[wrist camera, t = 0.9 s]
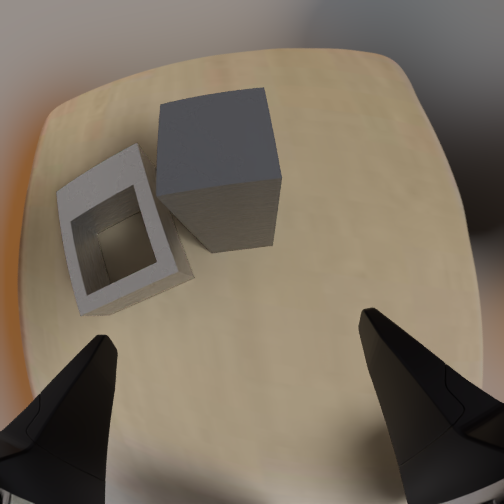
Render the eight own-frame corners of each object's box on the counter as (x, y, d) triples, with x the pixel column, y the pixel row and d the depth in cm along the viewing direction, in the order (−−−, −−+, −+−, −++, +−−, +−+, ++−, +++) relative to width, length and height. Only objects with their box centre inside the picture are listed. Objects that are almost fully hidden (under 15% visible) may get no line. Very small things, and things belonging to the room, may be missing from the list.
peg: (272, 245, 23) (281, 178, 10) (211, 253, 23) (156, 196, 10) (264, 189, 24) (264, 87, 11) (207, 197, 24) (160, 104, 11)
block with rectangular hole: (194, 277, 22) (178, 271, 18) (109, 315, 22) (80, 315, 18) (154, 166, 25) (137, 142, 20) (82, 207, 24) (56, 191, 20)
